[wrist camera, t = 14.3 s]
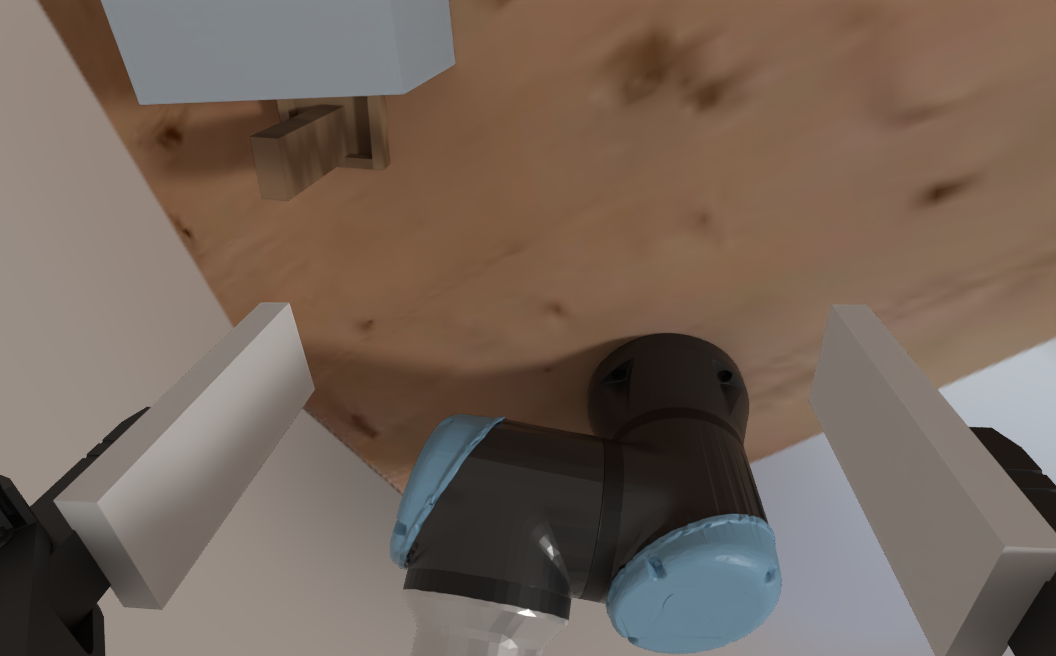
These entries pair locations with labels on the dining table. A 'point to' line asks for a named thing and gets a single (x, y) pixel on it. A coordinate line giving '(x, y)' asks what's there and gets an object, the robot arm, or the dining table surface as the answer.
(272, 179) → the tray
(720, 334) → the dining table surface
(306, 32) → the grey step stool
